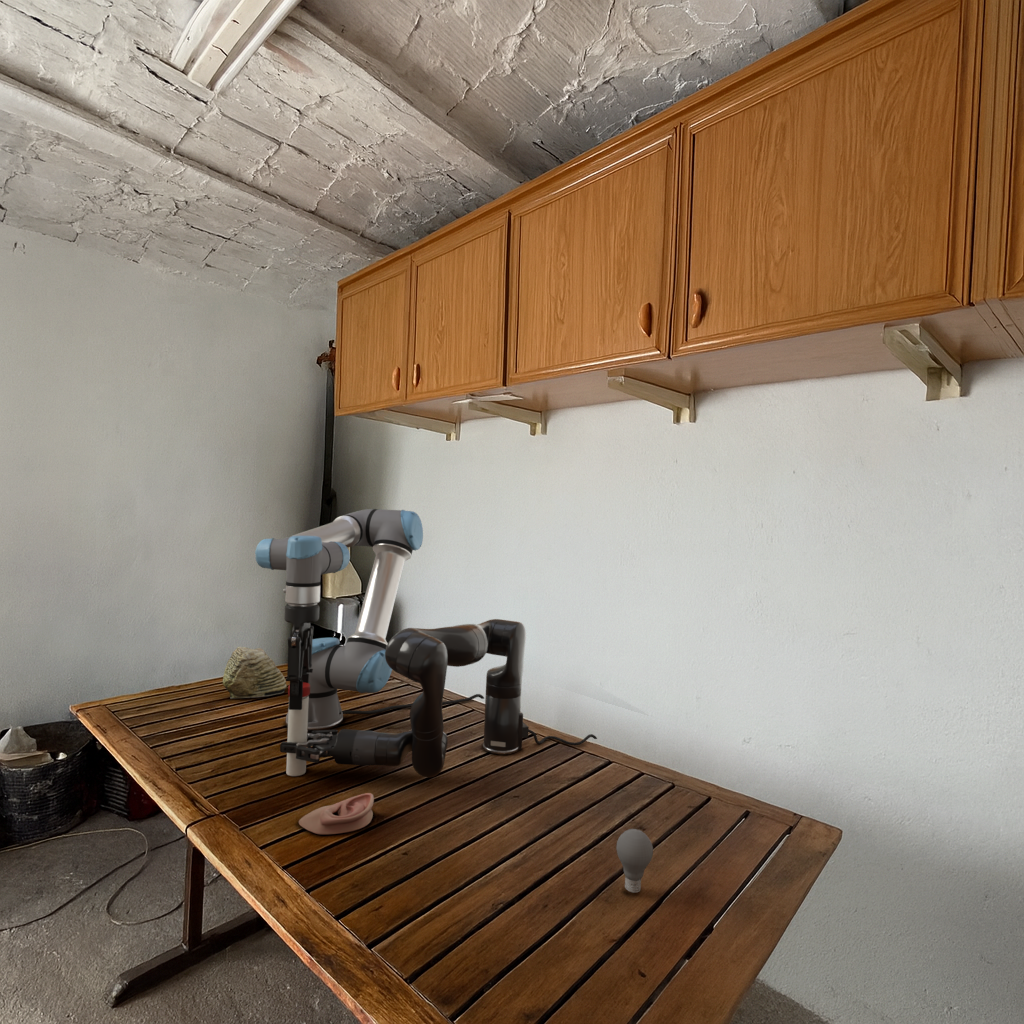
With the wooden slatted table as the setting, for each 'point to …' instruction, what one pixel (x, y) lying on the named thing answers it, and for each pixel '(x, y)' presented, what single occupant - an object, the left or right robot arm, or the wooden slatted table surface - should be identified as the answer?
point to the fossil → (252, 674)
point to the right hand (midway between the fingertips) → (285, 742)
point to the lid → (305, 689)
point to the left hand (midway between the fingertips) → (298, 705)
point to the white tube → (297, 737)
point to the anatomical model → (340, 816)
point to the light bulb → (634, 857)
